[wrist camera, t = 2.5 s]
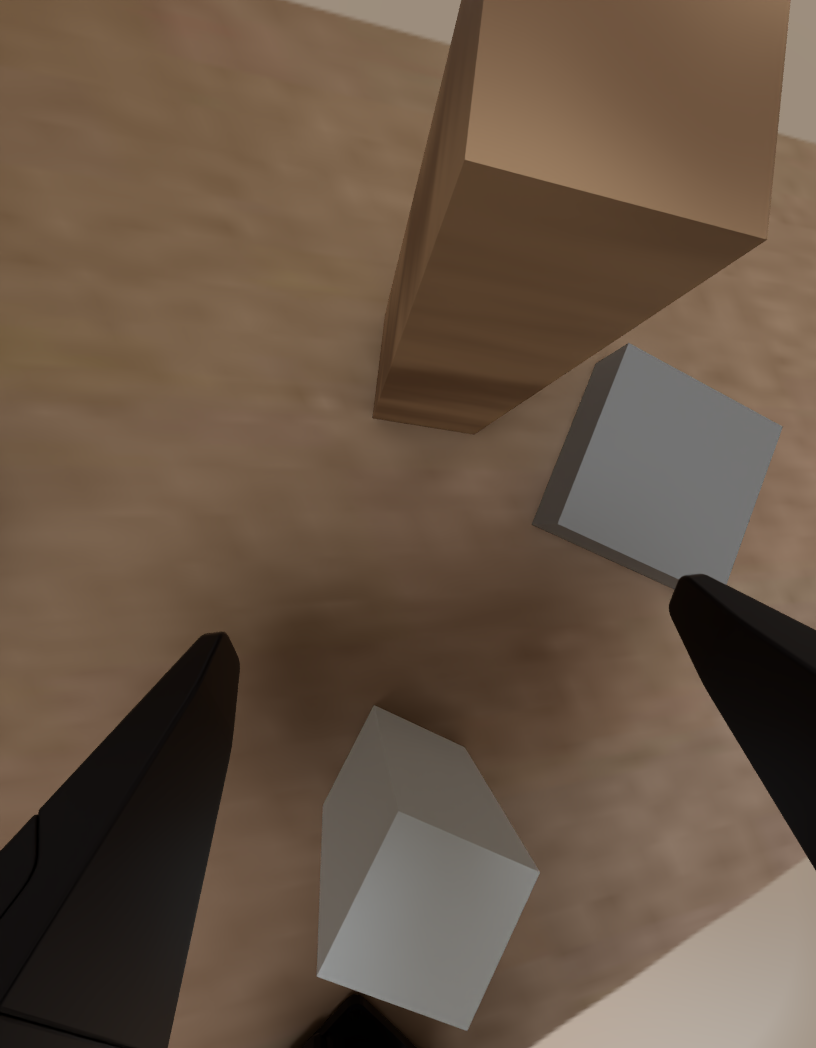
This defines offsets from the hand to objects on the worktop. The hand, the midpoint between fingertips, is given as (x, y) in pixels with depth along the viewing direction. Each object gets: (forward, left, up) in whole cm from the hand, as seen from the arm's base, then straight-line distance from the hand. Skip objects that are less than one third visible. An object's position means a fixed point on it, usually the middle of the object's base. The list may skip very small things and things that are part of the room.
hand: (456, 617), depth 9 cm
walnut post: (+5, -8, -12) cm, 16 cm away
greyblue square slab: (-6, -13, -13) cm, 19 cm away
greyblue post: (-8, +6, -12) cm, 16 cm away
